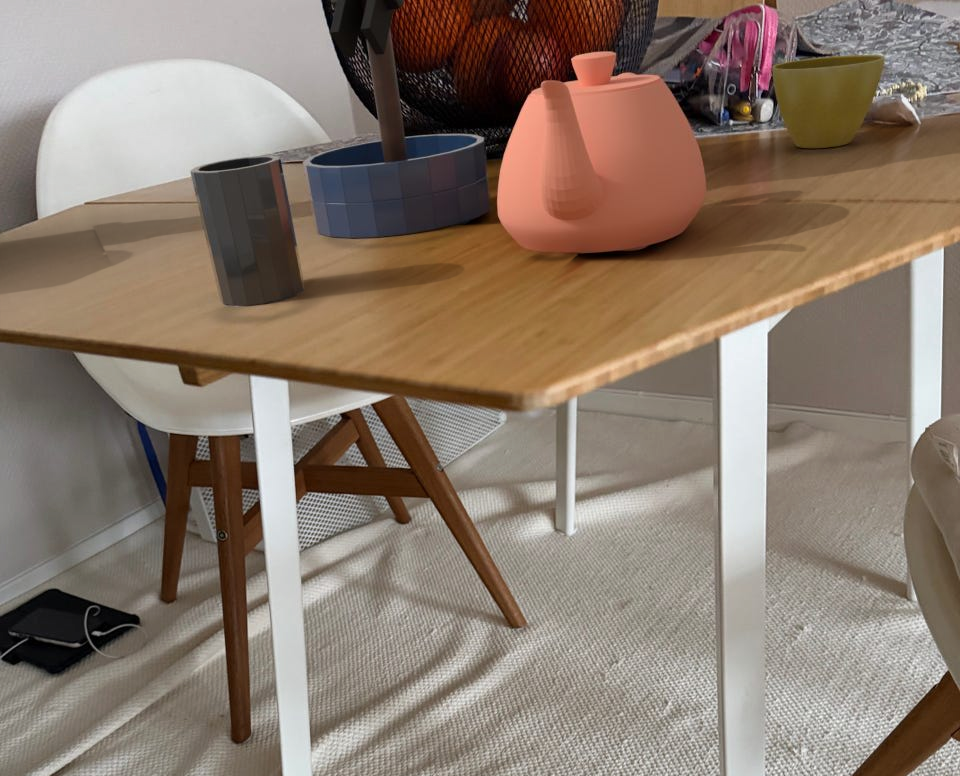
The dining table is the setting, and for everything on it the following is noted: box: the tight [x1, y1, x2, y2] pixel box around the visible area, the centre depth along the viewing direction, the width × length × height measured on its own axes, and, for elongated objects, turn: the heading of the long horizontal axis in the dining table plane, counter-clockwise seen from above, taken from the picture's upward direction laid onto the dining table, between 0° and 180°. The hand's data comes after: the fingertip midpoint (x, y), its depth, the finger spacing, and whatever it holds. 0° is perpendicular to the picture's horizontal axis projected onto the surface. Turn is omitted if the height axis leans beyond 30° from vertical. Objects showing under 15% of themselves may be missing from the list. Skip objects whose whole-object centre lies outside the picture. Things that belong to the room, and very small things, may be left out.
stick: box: [361, 0, 408, 163], centre depth 87 cm, size 2×2×20 cm
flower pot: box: [771, 54, 886, 149], centre depth 104 cm, size 10×10×7 cm
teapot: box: [496, 51, 707, 254], centre depth 77 cm, size 22×15×12 cm
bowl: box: [302, 133, 492, 239], centre depth 93 cm, size 15×15×6 cm
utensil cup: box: [189, 155, 306, 307], centre depth 74 cm, size 6×6×9 cm
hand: (357, 42), depth 84 cm, fingers closed on stick, 2 cm apart
